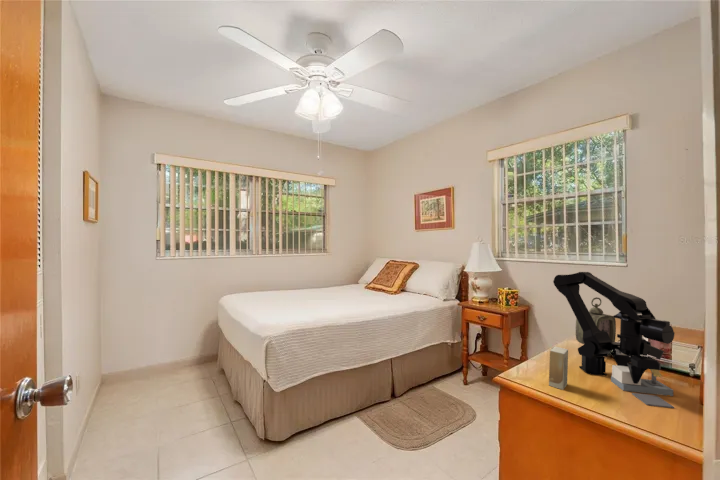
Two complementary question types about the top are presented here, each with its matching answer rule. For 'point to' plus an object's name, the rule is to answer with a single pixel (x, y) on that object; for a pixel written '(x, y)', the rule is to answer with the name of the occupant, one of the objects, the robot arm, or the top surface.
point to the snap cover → (623, 374)
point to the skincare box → (558, 367)
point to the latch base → (645, 387)
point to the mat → (652, 400)
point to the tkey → (655, 375)
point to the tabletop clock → (598, 323)
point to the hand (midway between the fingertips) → (629, 379)
